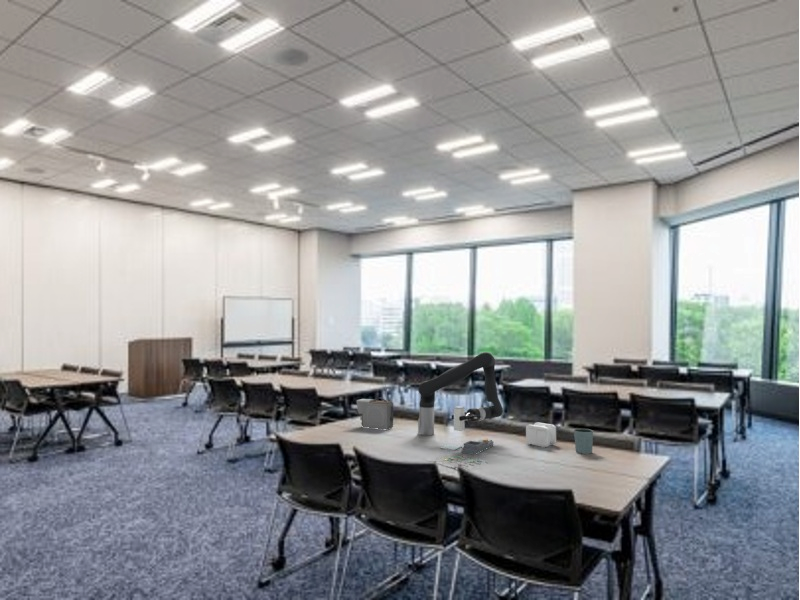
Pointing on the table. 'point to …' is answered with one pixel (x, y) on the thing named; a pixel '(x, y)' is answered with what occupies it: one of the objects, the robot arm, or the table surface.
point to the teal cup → (583, 440)
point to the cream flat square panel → (463, 458)
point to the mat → (450, 447)
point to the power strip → (476, 446)
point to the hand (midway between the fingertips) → (456, 417)
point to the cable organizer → (541, 434)
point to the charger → (457, 413)
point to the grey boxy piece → (376, 413)
